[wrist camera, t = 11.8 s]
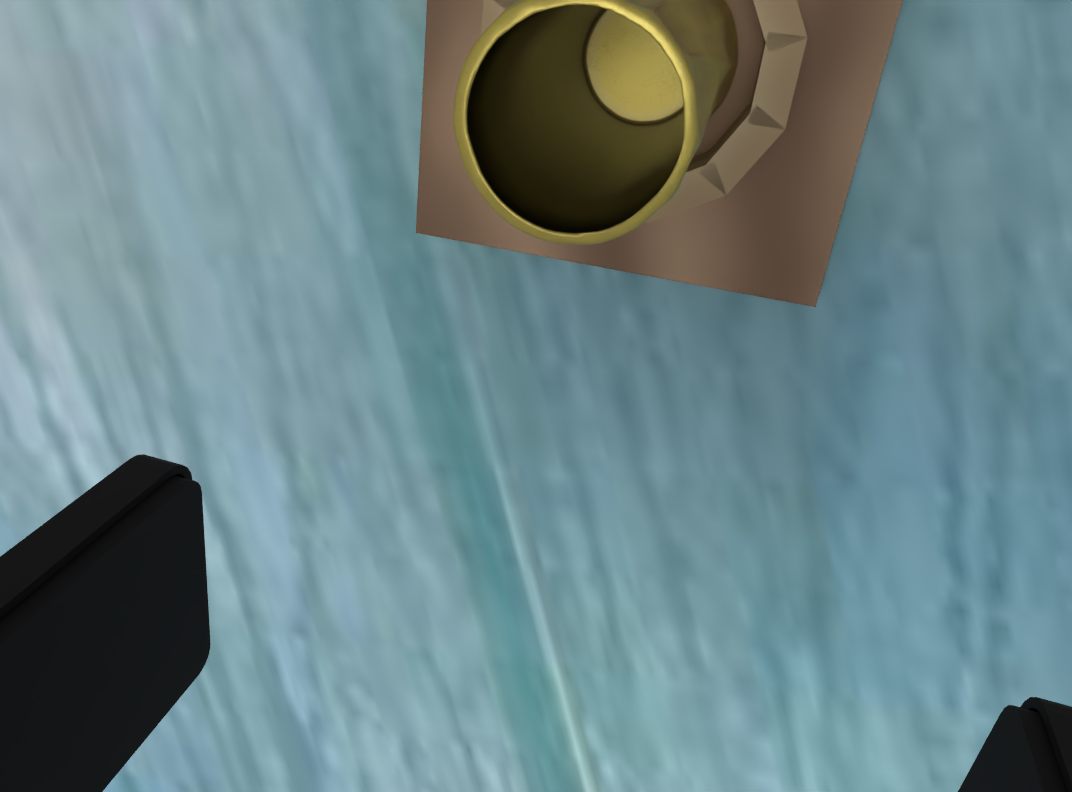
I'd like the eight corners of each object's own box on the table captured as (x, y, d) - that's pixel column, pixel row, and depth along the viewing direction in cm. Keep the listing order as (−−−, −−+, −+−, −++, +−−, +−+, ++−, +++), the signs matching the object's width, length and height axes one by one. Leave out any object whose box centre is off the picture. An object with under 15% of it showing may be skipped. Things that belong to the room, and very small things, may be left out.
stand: (949, -191, 27) (977, -212, 23) (813, 293, 34) (818, 331, 31) (453, -240, 29) (411, -266, 26) (428, 222, 37) (393, 250, 33)
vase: (773, 12, 29) (782, 57, 17) (680, 175, 32) (629, 315, 20) (613, -77, 29) (501, -100, 17) (534, 94, 32) (391, 184, 20)
